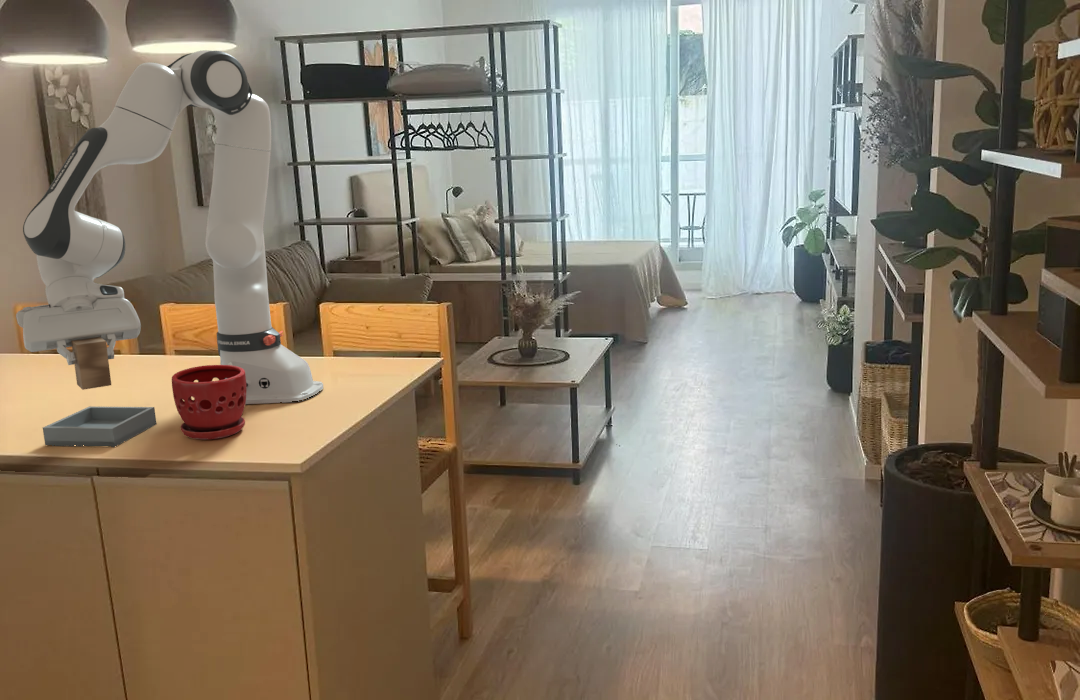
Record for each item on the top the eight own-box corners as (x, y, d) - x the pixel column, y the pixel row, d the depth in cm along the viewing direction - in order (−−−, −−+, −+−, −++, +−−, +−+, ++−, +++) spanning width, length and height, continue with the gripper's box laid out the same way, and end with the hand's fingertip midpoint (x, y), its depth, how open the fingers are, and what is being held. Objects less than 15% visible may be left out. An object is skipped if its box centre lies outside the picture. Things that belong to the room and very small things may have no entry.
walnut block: (105, 380, 181) (100, 337, 179) (111, 385, 177) (105, 341, 175) (77, 384, 178) (71, 340, 176) (82, 389, 174) (76, 344, 172)
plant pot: (164, 443, 173) (156, 380, 170) (201, 422, 186) (194, 363, 183) (230, 445, 171) (223, 381, 168) (263, 423, 183) (257, 364, 181)
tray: (156, 424, 185) (154, 407, 185) (114, 447, 172) (112, 428, 171) (91, 423, 187) (89, 406, 187) (45, 445, 174) (42, 427, 173)
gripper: (13, 298, 173) (29, 359, 168) (130, 286, 185) (149, 342, 179) (13, 319, 178) (29, 378, 172) (128, 306, 190) (146, 361, 184)
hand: (91, 360), depth 176 cm, fingers closed on walnut block, 5 cm apart
